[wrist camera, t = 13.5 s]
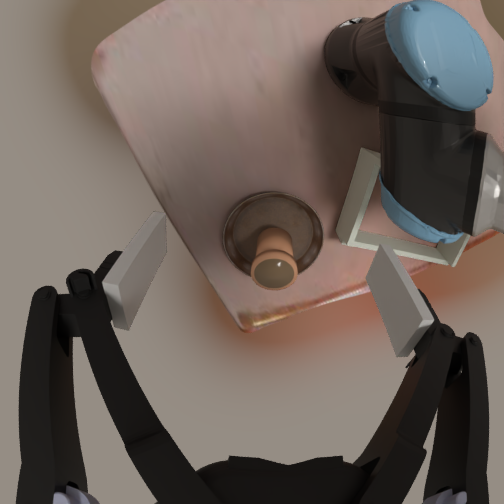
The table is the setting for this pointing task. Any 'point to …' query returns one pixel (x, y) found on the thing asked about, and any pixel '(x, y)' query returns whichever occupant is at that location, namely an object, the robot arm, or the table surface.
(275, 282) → the terracotta pot
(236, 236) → the plant saucer
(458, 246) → the frame
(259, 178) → the table surface
